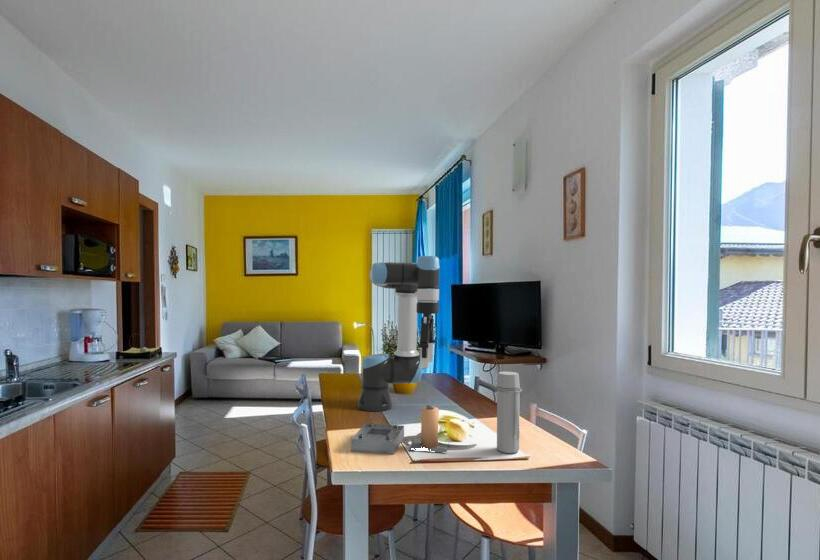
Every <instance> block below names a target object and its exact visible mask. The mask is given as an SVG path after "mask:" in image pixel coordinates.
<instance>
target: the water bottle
mask: <svg viewBox="0 0 820 560" xmlns="http://www.w3.org/2000/svg"><path fill="white" fill-rule="evenodd" d="M496 382H497V383H496V388H497V389H496V390H497V391H496V394H497V395H496V404H497V405H496V449H497V450H498V451H499V452H501V453H504V454H515V453H518V452H519V451H520V433H521V432H520V397H521V396H520V393H521V392H522V390H523V389H522V388H521V387H520V386H521V385H520V376H519V373H518V372H515V371H499V372H498V373H497V381H496Z"/></svg>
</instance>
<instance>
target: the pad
mask: <svg viewBox="0 0 820 560" xmlns="http://www.w3.org/2000/svg"><path fill="white" fill-rule="evenodd" d="M419 439H420V438H414V439H412V443H411V445H410V446H409V449H408V451H409V450H411V448H414V449H415V448H421V443H420V442H421V441H420V440H419ZM422 448H423V447H422ZM430 449H431V451H435V452H448V448H447V449H444V448H437V447H435V448H428V450H429V451H430ZM415 450H416V449H415Z"/></svg>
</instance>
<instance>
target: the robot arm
mask: <svg viewBox="0 0 820 560" xmlns="http://www.w3.org/2000/svg"><path fill="white" fill-rule="evenodd" d="M440 268H441V266H440V259H439V257H438V256H436V255H435V256H434V255H420V256H418V257H417V262H391V261H389V262H387V261H386V262H374V263H373V264H372V265H371V268H370V271H369V274H368V277H369V279H370V282H371V283H372V284H373V285H375V286H377V287H381V288H384V289H395V290H394V291H395V294H396V296H398V306H397V307H398V309H397V311H398V312H397V342H396V343H397V349H396V350H395V351H394V352H393V356H390V355H389V353H376V354H369V355H366V356H364V358H363V360H362V367H361V369H362V381H361V382H362V383H361V384H362V388H361V393H360V396H359V399H358V401H357V402H358V403H357V408H358V409H359V410H360V411H367V412H383V411H388V410H391V409H392V408H393V402H392V397H391V394H390V391H389V384H416V383H419V382H420V380H422V379H421V378H422V375H423V370H424V369H429V368H430V367H429V365H430V363H433V362H434V344H435V343H436V339H435V338H434V322H435V319H434V315H435V314H439V311H440V310H439V305H440V304H439V301H440V289H439V288H440V287H439V286H440ZM418 314H422V316H421V318H420V338H419V339H420V340H419V344H417V340H418V338H417V337H418V333H417V332H418ZM417 347H418V349H419V348H420V350H419V351H420V352H419V351H418V350H417Z"/></svg>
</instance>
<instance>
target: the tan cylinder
mask: <svg viewBox="0 0 820 560" xmlns="http://www.w3.org/2000/svg"><path fill="white" fill-rule="evenodd" d="M439 409H440V408H439V407H436V406H435V405H433V404H427V405H426V406H422V407H421V425H420V429H421V430H420V439H421V446H422V447H425V448H435V447H437V445H438V440H439V418H440V417H439Z"/></svg>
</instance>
